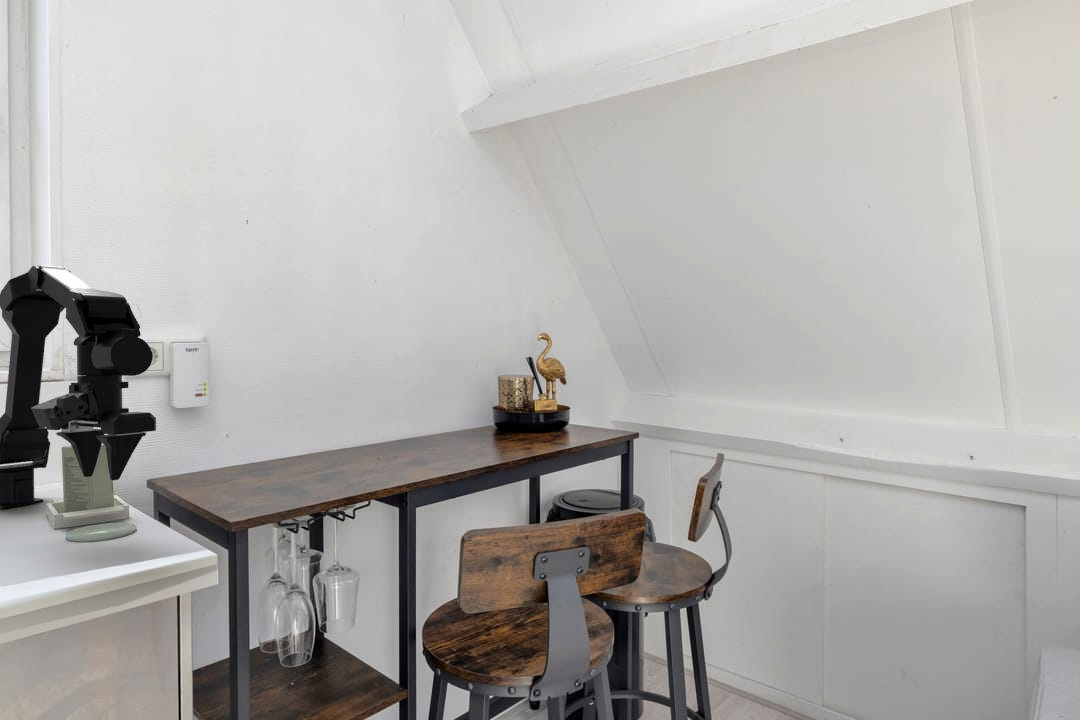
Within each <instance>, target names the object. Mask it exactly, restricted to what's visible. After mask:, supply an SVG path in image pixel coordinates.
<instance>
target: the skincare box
mask: <svg viewBox="0 0 1080 720" xmlns="http://www.w3.org/2000/svg"><path fill="white" fill-rule="evenodd" d="M61 460H62V461H61V462H62V463H61V465H62V466H61V467H62V471H61V472H62V492H63V497H62V498H64V513H68V512H75V511H83V510H91V509H99V508H106V507H114V495H115V494H114V480H111V479H110V475H109V470H108V462H107V454H106V447H105V445H104V444H103V443H102V444H101V448H100V452H99V456H98V459H97V463H96V467H95V469H94V472H93V475H92V476H90V477H84V476H83V473H82V471H81V468H80V465H79V463H78V460H77V458H76V455H75V452H74V450H73V448H72V446H71V445H65V446H61Z"/></svg>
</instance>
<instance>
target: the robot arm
mask: <svg viewBox="0 0 1080 720" xmlns="http://www.w3.org/2000/svg"><path fill="white" fill-rule="evenodd" d="M0 310H1V317H2V319H3V321H4V322H5V324H6V326H7V327H8V328H9V330H10V331H11V341H10V342H11V344H10V352H9V354H10V355H9V365H8V373H7V374H8V376H7V384H6V385H7V386H6V396H5V397H6V398H5V407H4V408H5V410H4V413H3V414H2V416H0V509H9V508H15V507H20V506H27V505H32V504H39V503H43V502H44V498H39V497H35V469H46V468H47V464H48V462H49V454H50V448H51V442H50V439H49V434H50V433H49V431H57V432H55V435H57V437H61V438H62V439H64V440H65V441H67V442H68V443H69V444H70V446H72V448H73V450H74V452H75V455H76V458H77V460H78V463H79V465H80V468H81V471H82V473H83V476H84V477H90V476H92V475H93V472H94V469H95V467H96V463H97V459H98V456H99V452H100V448H101V444H104V445H105V447H106V454H107V462H108V470H109V475H110V479H111V480H113V481H118V480H120V478H121V476H122V474H123V473H124V470H125V468H126V466H127V465H128V462H129V461H130V459H131V457H132V455H133V454H134V452H135V450H136V448H137V446H138V445H139V444H140V442H141V440H142V438H143V437H145V436H146V434H147V432H155V431H157V418H156V417H155V415H153V413H152V412H146V411H145V412H143V411H134V412H133V411H132V412H131V411H130V409H129V407H123V389H129V381H123V376H125V377H130V376H131V377H134V376H135V377H136V376H139V375H141V374H144V373H145V372H146V371H147V370H148V369H149V368H150V366H151V365H152V362H153V358H154V356H153V354H154V353H153V351H152V349H151V347H150V345H149V344H148V342H147V341H145V340H144V339H142V338H140V337H141V336H142V335H141V334H142V333H141V331H140V329H141V325H140V323H139V322H138V319H137V318H136V316H135V315H134V312H133V310H132V307H131V305H130V304H129V302H128V300H127V298H126V297H125V296H124V294H121V293H116V292H113V291H107V290H106V291H105V290H100V289H95V288H94V287H92V286H91V285H90V284H87V283H86V282H85V281H83V280H82V279H80V278H79V277H77V276H76V275H74V274H73V273H72V271H71V270H70V269H69V268H66V267H64V266H56V265H45V264H37V265H32V266H31V267H30V269H29V270H28V271H27V272H25V273H22V274H20V275H18V276H16V277H13V278H11V279H9V280H8V281H7V282H6V284H5V285H4V286H3V288H2V289H1V291H0ZM64 310H65V319H66V320H67V322H68V323H69V324H70V325H71V327H72V329H74V331H75V333H76V334H77V337H75V338H74V341H73V346H75V347H76V375H77V377H76V378H77V379H76V382H70V385H68V393H65V394H63V395H60V396H56V397H54V398H51V399H48V400H47V401H43V402H41V403H40V397H41V386H42V377H43V375H42V374H43V367H44V358H45V347H46V340H47V339H46V338H47V337H48V336H49V335H50V333H51V332H53V330H54V329H55V328H56V327H57V326H58V325H59V322H60V316H61V313H62V312H63V311H64ZM129 411H130V412H129ZM58 431H59V432H58ZM18 463H19V464H18Z"/></svg>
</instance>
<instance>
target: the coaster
mask: <svg viewBox="0 0 1080 720" xmlns="http://www.w3.org/2000/svg"><path fill="white" fill-rule="evenodd" d="M136 531H137V525H136V524H135V523H132V522H104V523H96V524H90V525H85V526H81V527H77V528H75V529H72V530H69V531H67V532H66V533H65V540H66V541H69V542H76V543H77V542H78V543H85V542H86V543H87V542H99V541H106V540H114V539H117V538H121V537H126V536H128V535H132V534H133V533H135V532H136Z"/></svg>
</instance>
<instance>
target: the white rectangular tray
mask: <svg viewBox="0 0 1080 720" xmlns="http://www.w3.org/2000/svg"><path fill="white" fill-rule="evenodd" d="M51 501H52V502H49V503H48V502H47V503H46V505H45V506H46V509H45V510H46V513H45V514H46V517H47V519H48V520H49V523H50V525H51V526H52V528H53V529H54V530H57V529H63V528H65V529H66V528H70V527H79V526H87V525H94V524H101V523H108V522H112V521H119V520H124V518H125V519H129V518H130V505H129V503H127V502H126V501H125V500H123V499H122V498H121V497H120V496H118V495H117V494H114V507H106V508H99V509H91V510H83V511H75V512H68V513H64V497H62V498H57V499H52V500H51Z"/></svg>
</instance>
